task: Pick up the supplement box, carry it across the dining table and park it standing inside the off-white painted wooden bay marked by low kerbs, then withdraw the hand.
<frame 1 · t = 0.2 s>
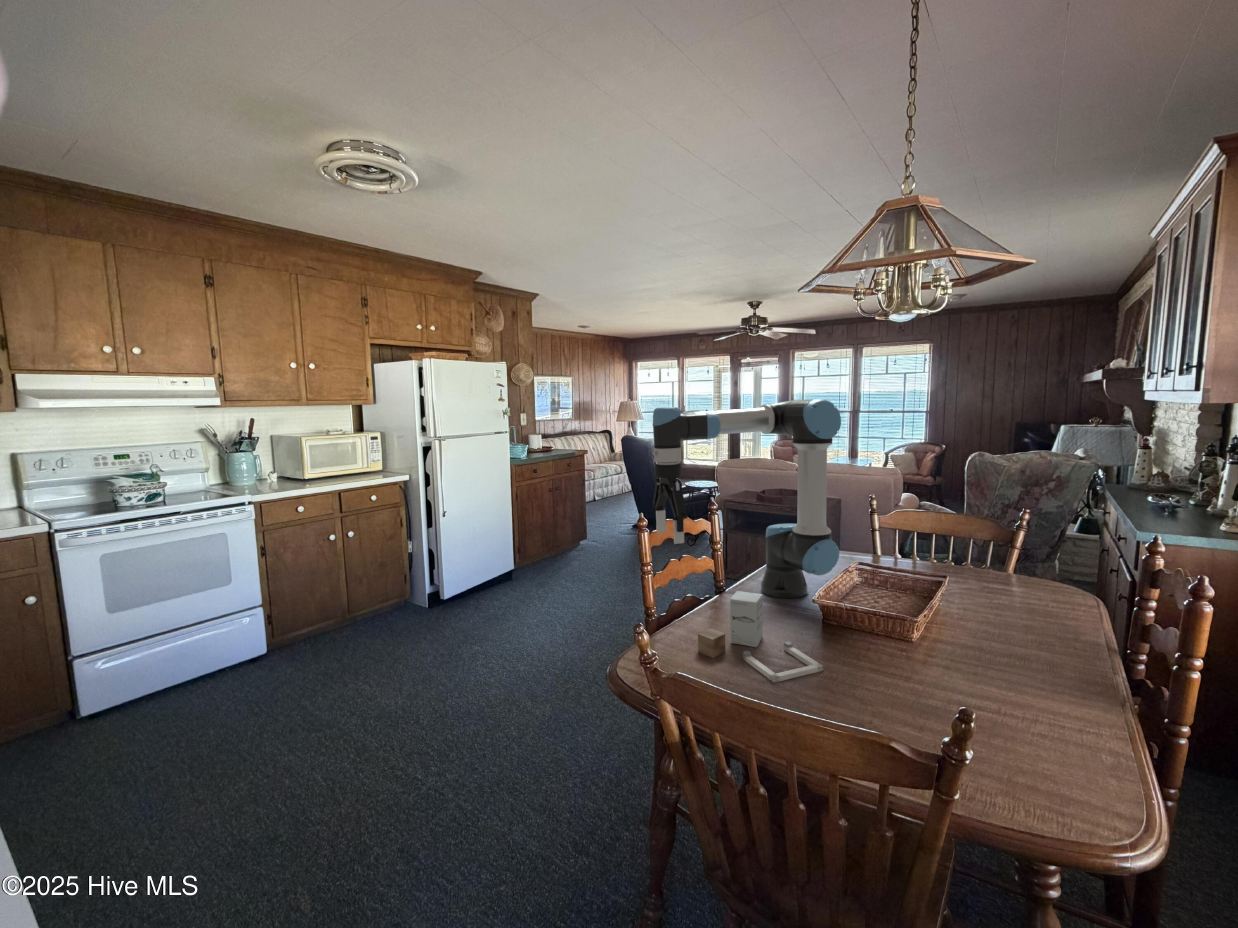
hand: (669, 537, 156), 28 cm above the table, fingers open, 13 cm apart
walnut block: (711, 651, 145), on the table
supplement box: (746, 641, 151), on the table
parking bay: (780, 663, 137), on the table
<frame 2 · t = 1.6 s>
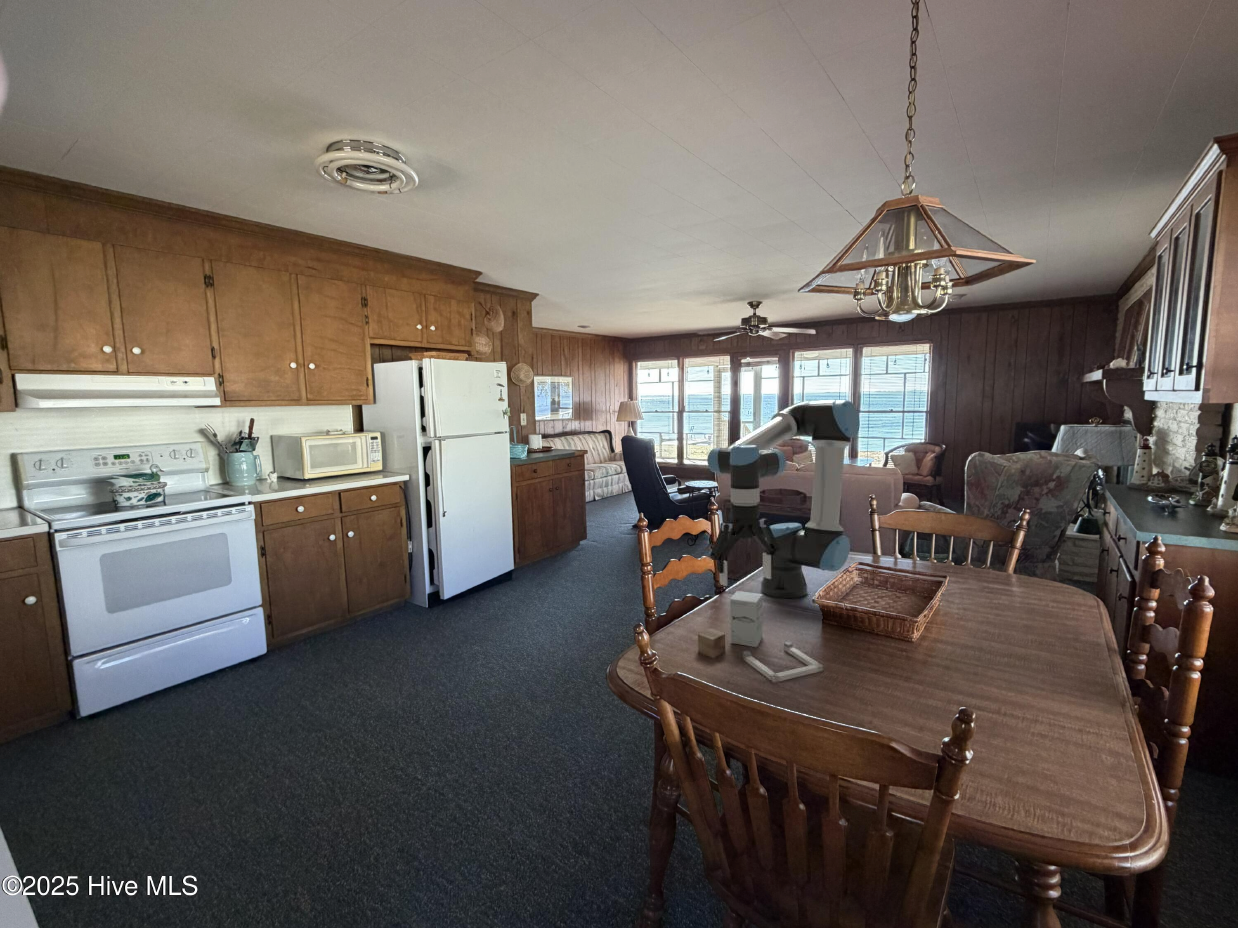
hand: (745, 580, 149), 17 cm above the table, fingers open, 13 cm apart
nothing on the table moved.
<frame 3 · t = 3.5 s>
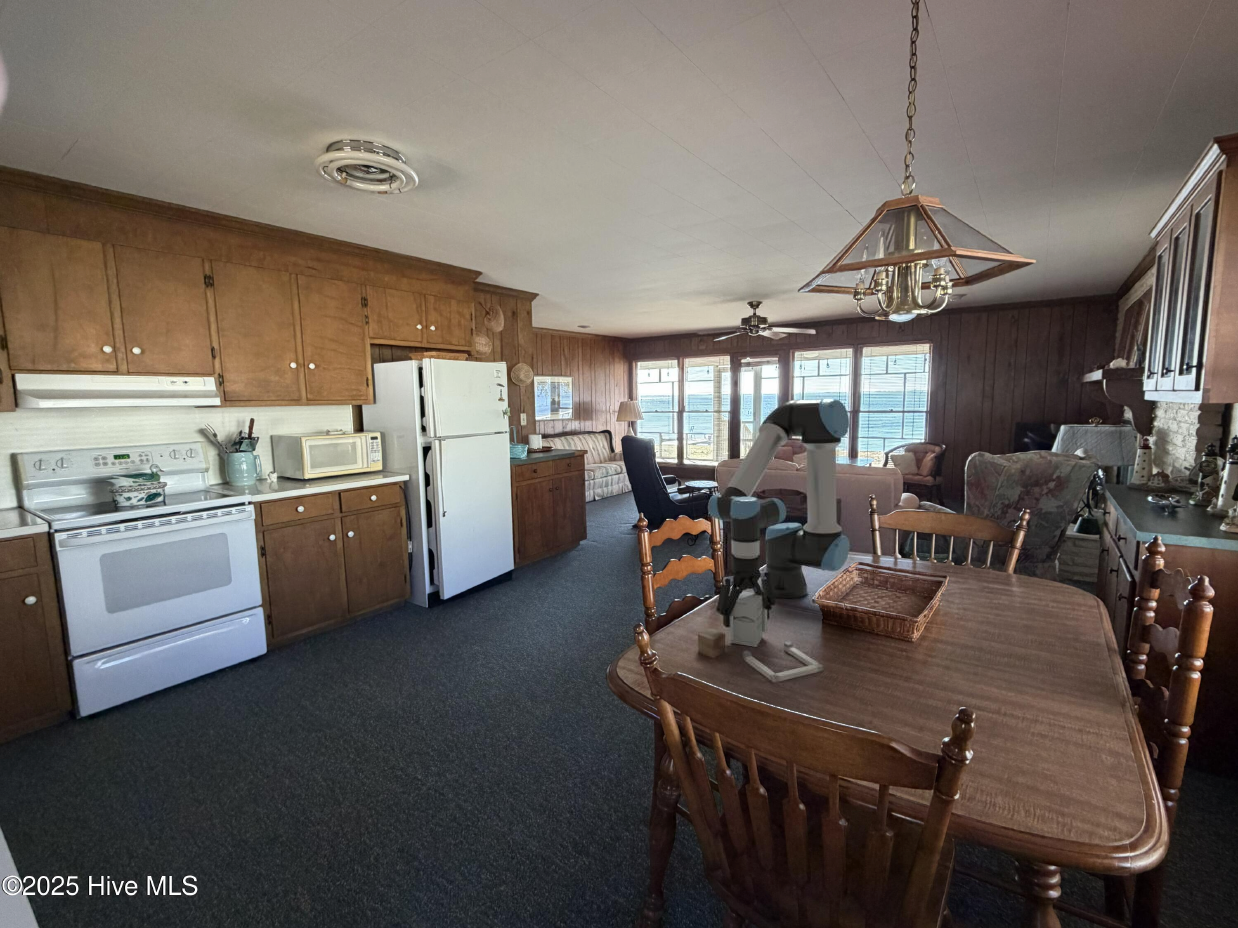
hand: (746, 634, 151), 2 cm above the table, fingers closed on supplement box, 10 cm apart
supplement box: (746, 641, 151), on the table, touching gripper
everything else where it was.
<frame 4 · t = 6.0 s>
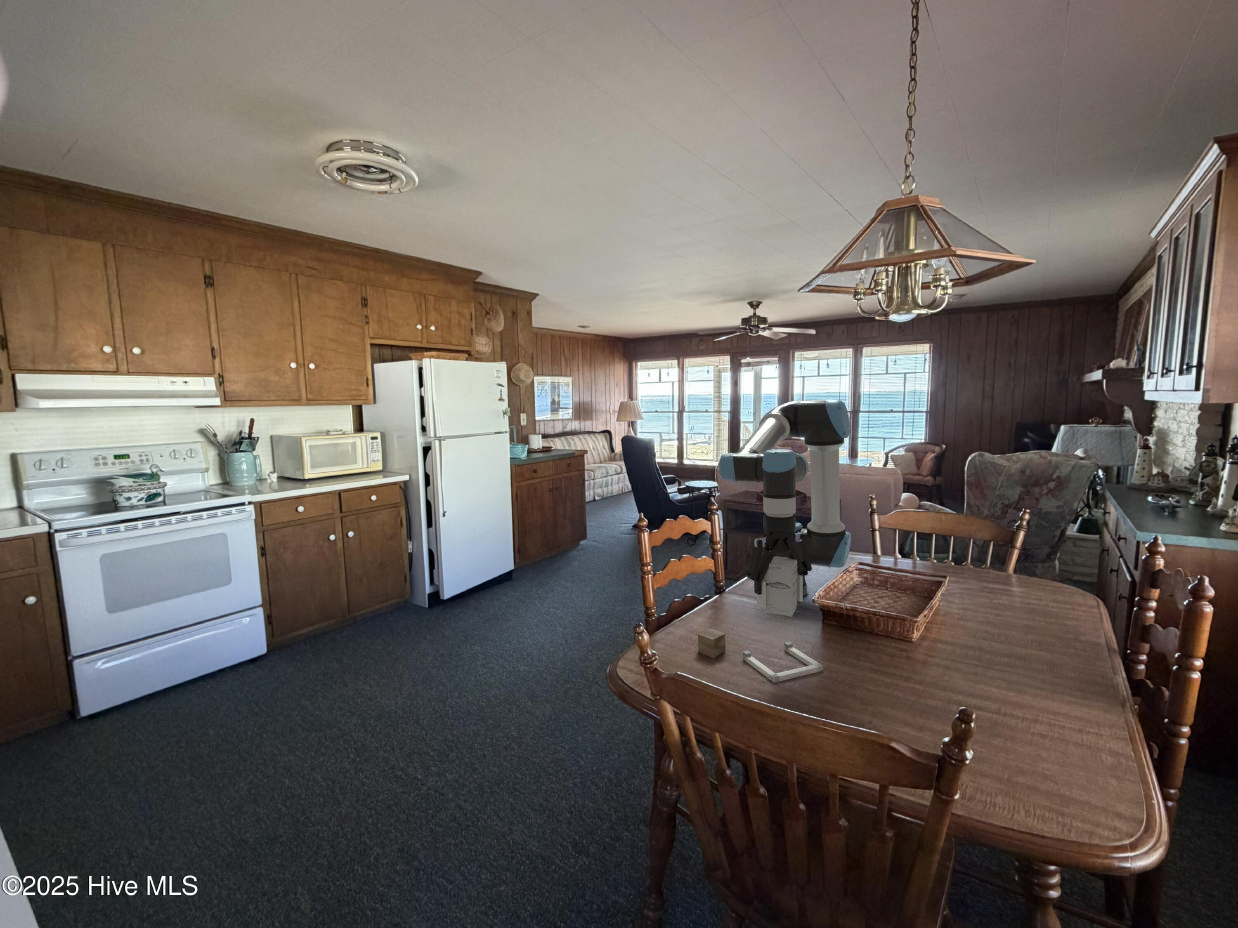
hand: (779, 603, 135), 16 cm above the table, fingers closed on supplement box, 10 cm apart
supplement box: (779, 610, 135), point 14 cm above the table, touching gripper
everything else where it was.
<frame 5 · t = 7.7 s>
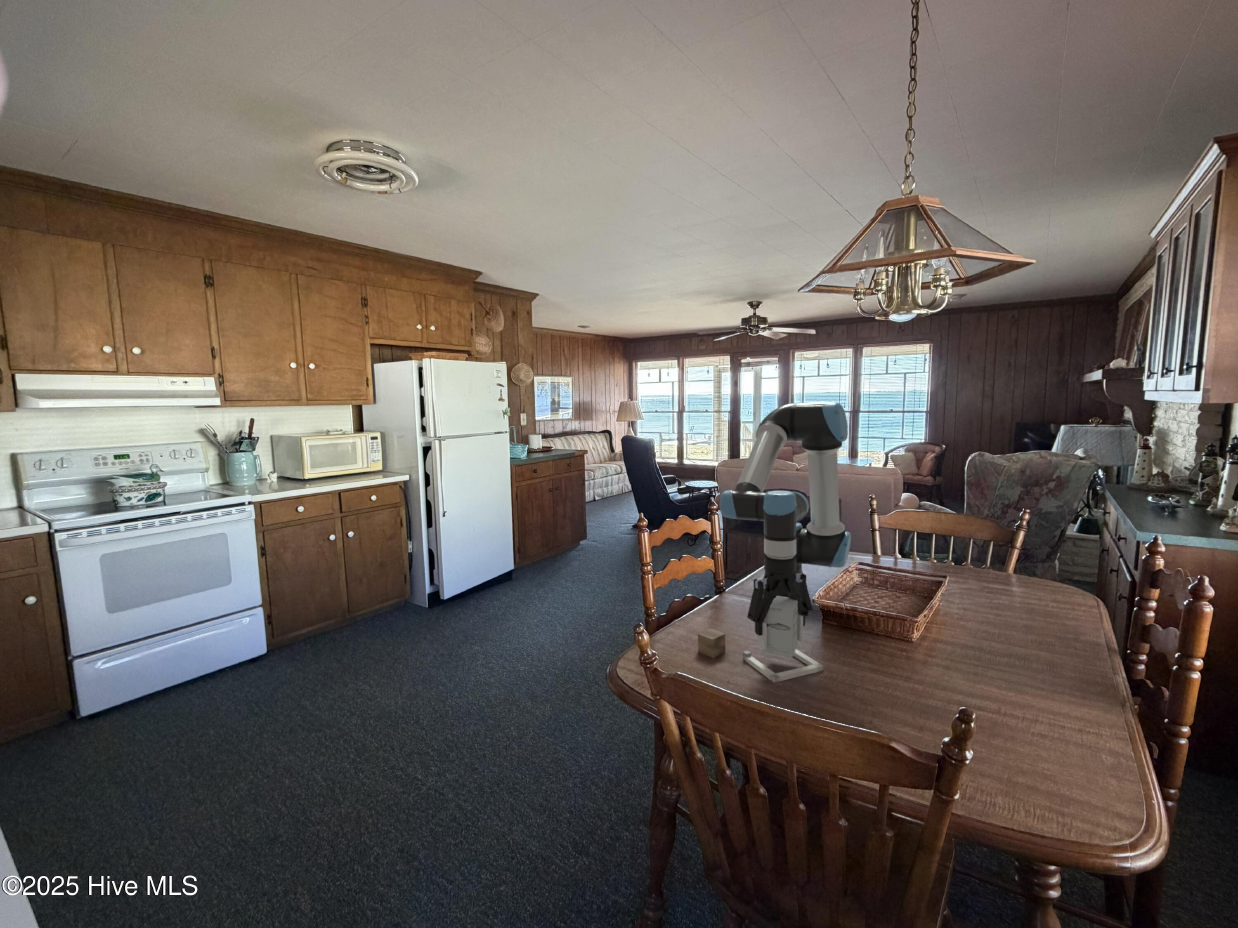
hand: (780, 642, 136), 5 cm above the table, fingers closed on supplement box, 10 cm apart
supplement box: (780, 650, 136), point 3 cm above the table, touching gripper
everything else where it was.
when the fingers open (3 cm above the table, at t = 8.8 s): supplement box stays where it is, on the table.
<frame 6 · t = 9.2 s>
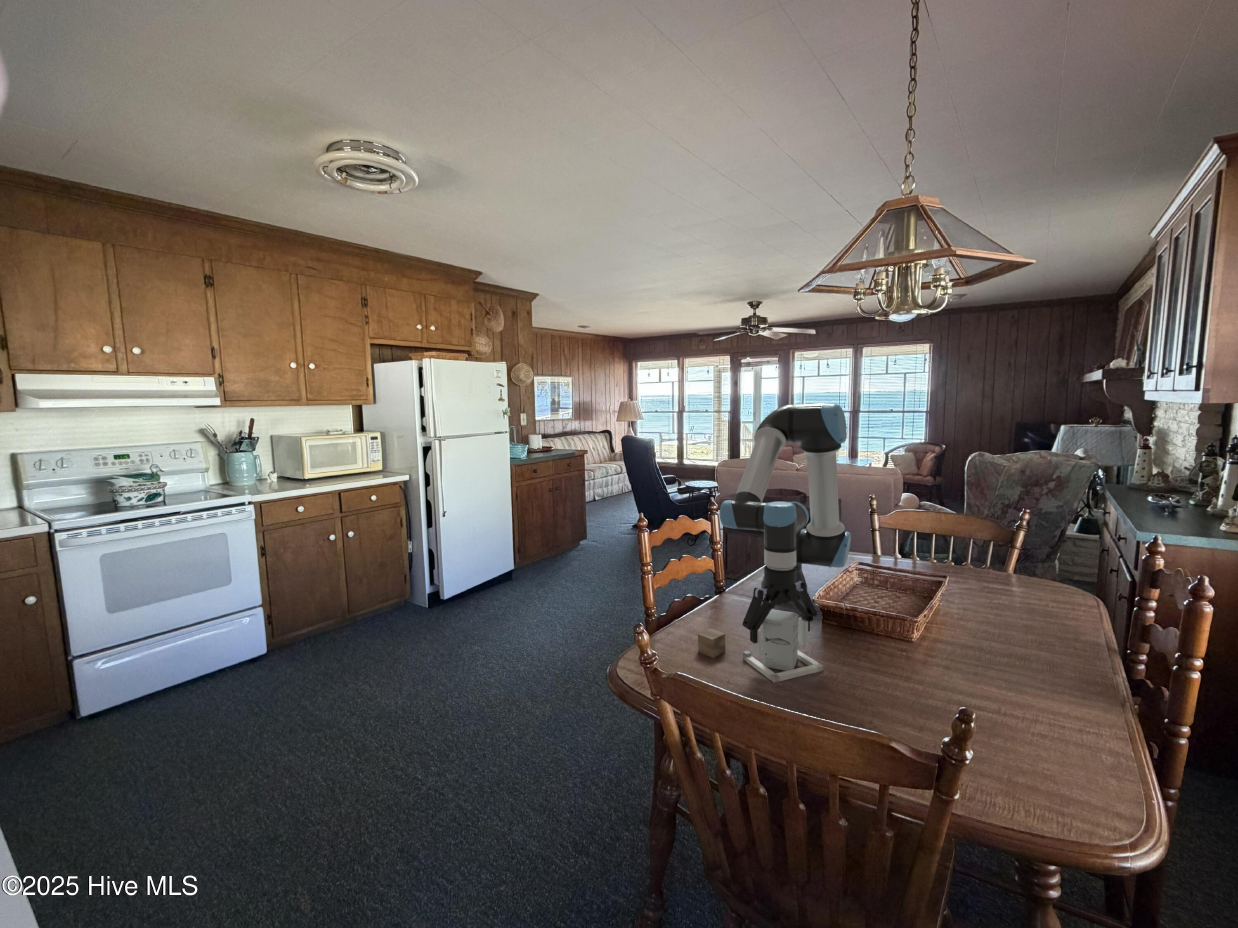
hand: (780, 649, 136), 4 cm above the table, fingers open, 13 cm apart
supplement box: (780, 664, 137), on the table
everything else where it was.
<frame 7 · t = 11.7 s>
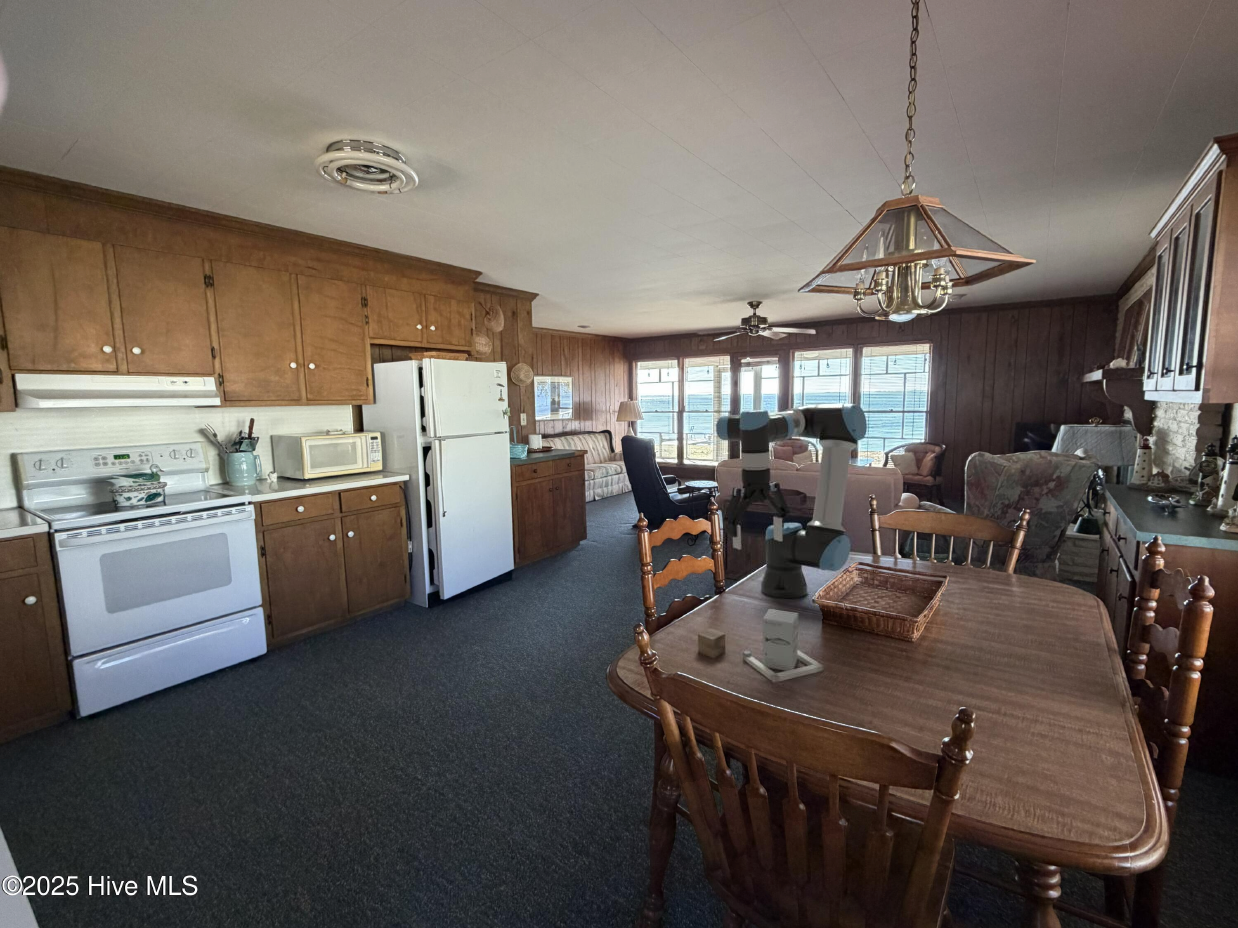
hand: (758, 544, 151), 26 cm above the table, fingers open, 13 cm apart
nothing on the table moved.
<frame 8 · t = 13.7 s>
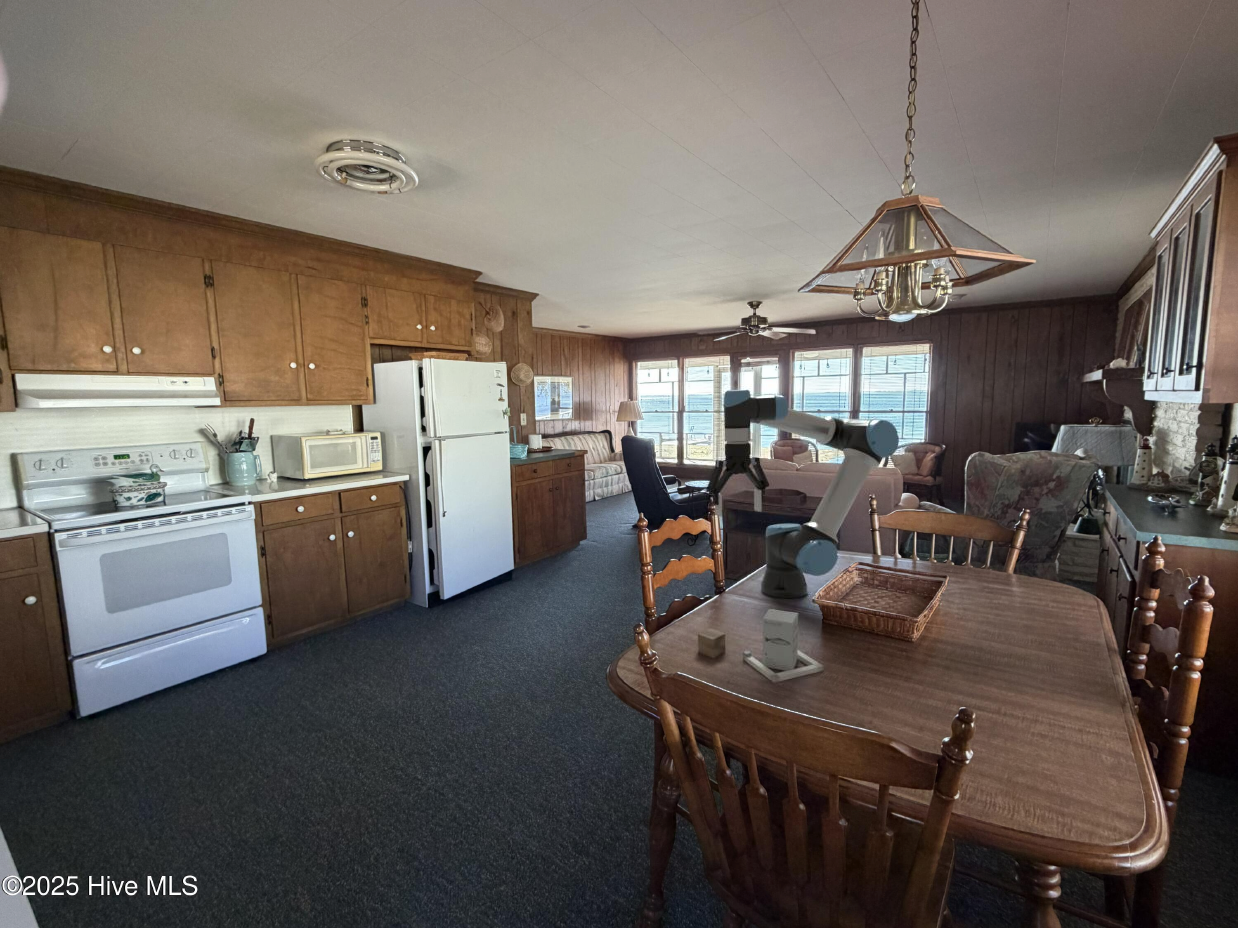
hand: (738, 513, 165), 32 cm above the table, fingers open, 13 cm apart
nothing on the table moved.
at the end: supplement box inside the target area (0.4 cm from its centre), on the table; supplement box tilted 0°; the gripper is holding nothing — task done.
